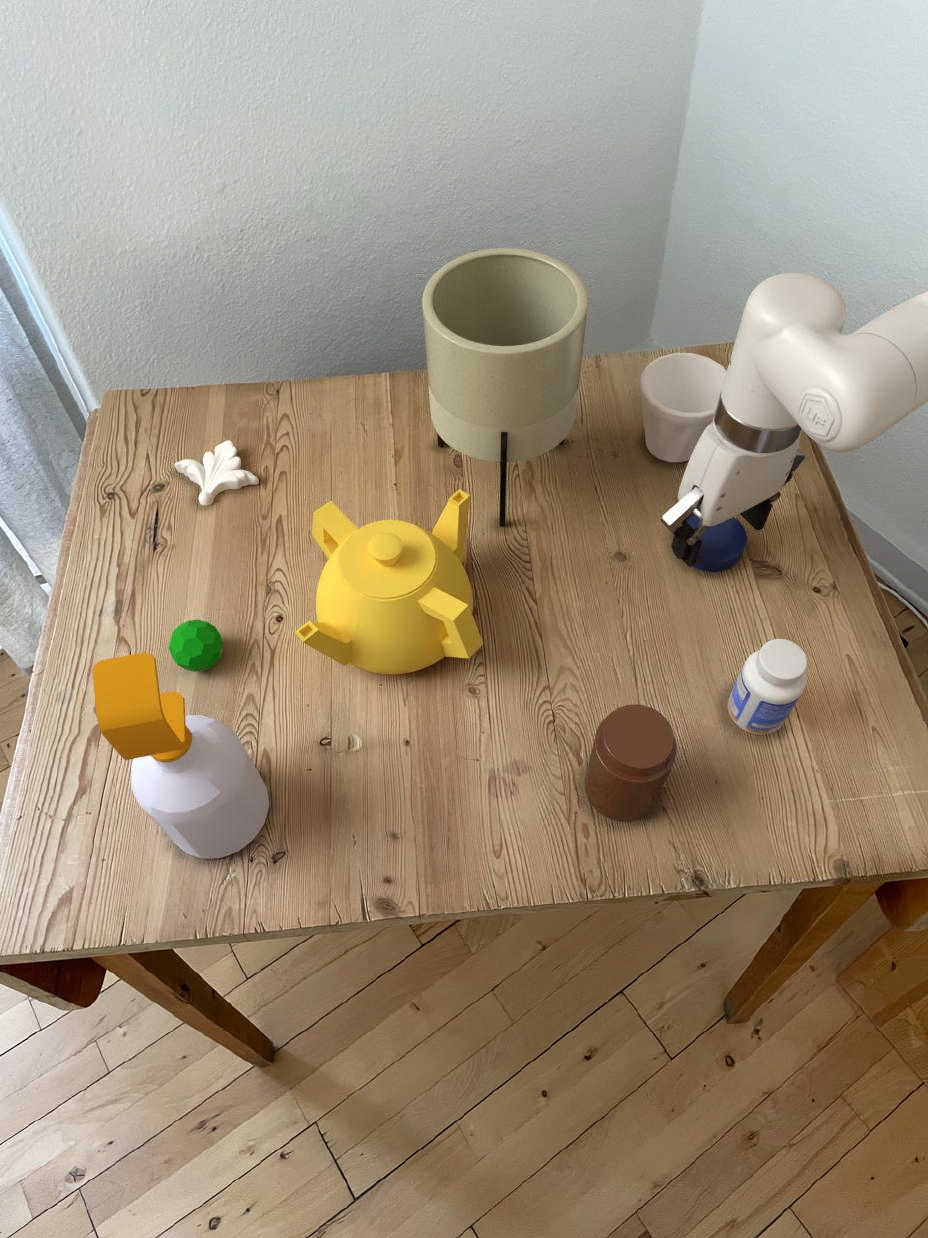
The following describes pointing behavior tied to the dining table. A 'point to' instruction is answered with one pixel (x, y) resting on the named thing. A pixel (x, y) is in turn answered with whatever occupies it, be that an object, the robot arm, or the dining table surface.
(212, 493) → the acanthus leaf ornament
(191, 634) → the polyhedron
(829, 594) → the dining table surface
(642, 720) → the jam jar
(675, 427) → the cup
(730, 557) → the jar lid
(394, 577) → the teapot
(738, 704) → the pill bottle
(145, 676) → the soap bottle
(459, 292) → the planter
